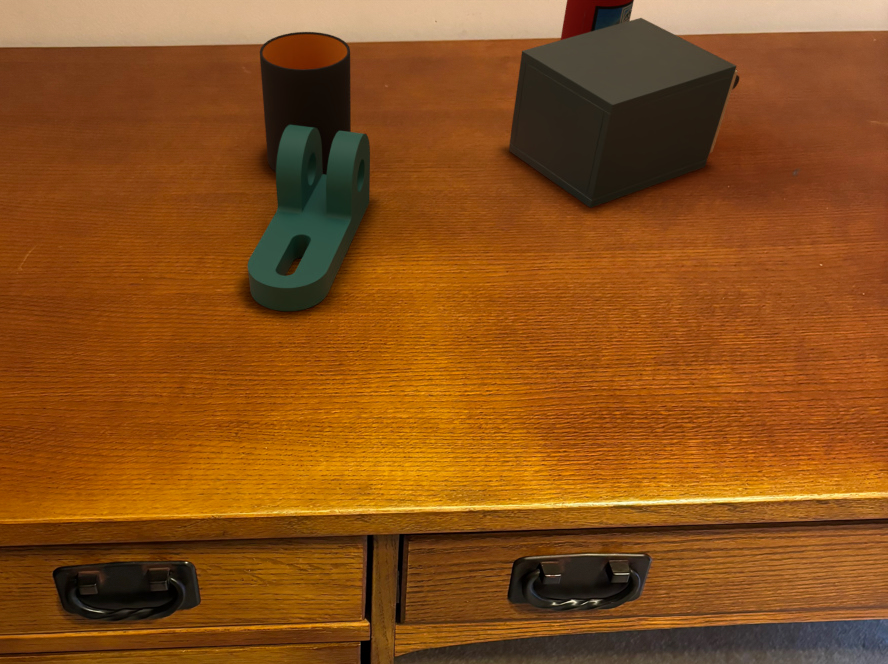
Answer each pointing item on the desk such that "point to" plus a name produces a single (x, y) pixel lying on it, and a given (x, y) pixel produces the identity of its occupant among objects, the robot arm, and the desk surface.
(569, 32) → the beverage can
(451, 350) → the desk surface
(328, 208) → the bracket
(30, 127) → the desk surface
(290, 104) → the mug
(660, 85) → the dark grey box
